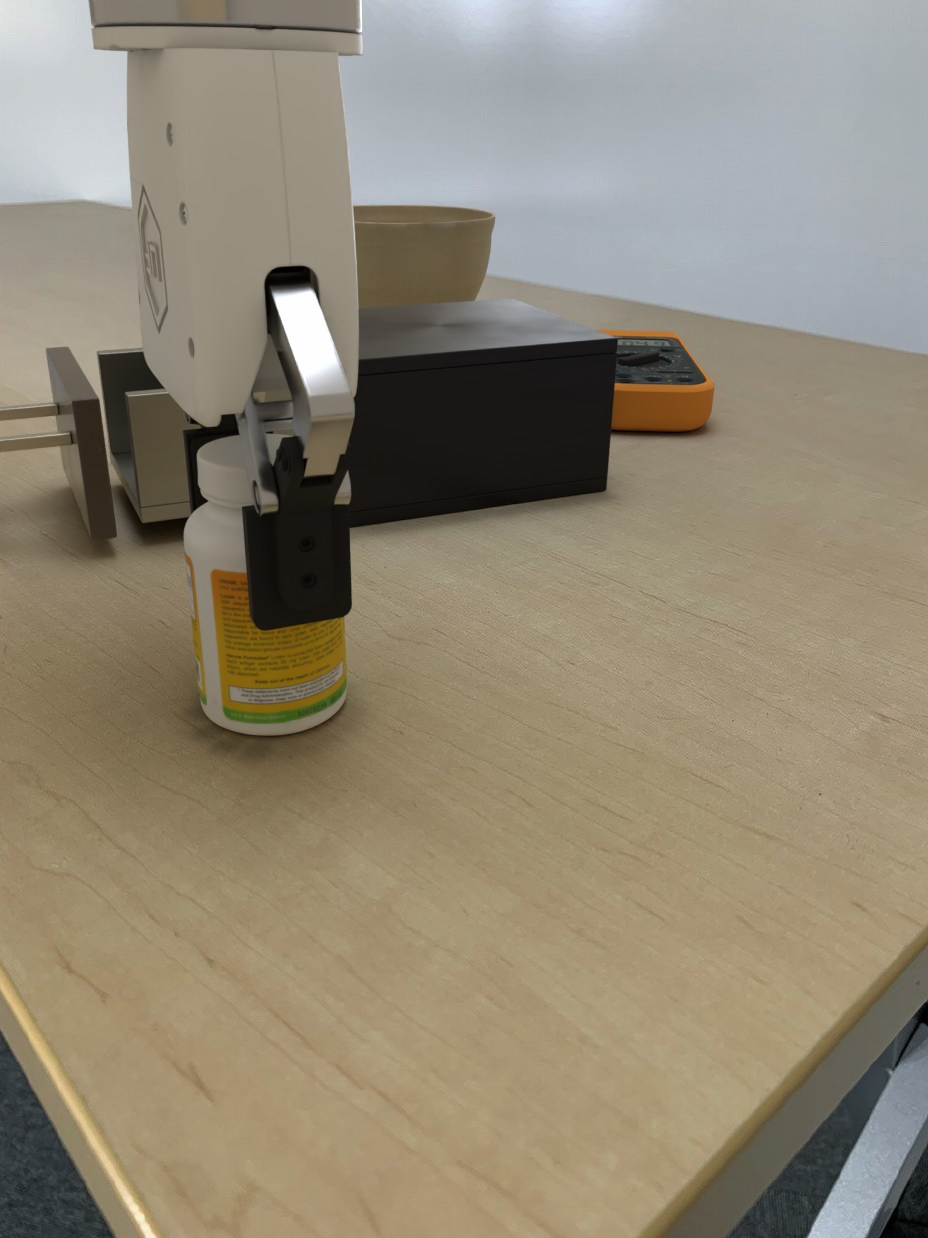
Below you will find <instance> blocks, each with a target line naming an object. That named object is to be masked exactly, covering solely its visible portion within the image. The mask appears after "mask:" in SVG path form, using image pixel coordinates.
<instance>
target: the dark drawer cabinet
mask: <svg viewBox="0 0 928 1238" xmlns="http://www.w3.org/2000/svg"><path fill="white" fill-rule="evenodd" d="M358 314H359V362H358V381H357V390H356V395H355V397H354V404H355V416H354V421H353V425H352V429H351V433H350V437H349V440H348V442H349V443H350V445H351V448H349V449H348V451H349V455H352V461H351V462H350V463H349V465H348V473H349V478H350V484H351V500H350V503H349V523H350V528H351V527H359V526H365V525H371V524H372V525H373V524H379V523H386V522H395V521H400V520H406V519H407V520H408V519H414V518H421V517H422V518H423V517H429V516H434V515H442V514H449V513H455V512H456V513H457V512H462V511H470V510H477V509H482V508H483V509H484V508H492V507H498V506H504V505H512V504H519V503H525V502H533V501H540V500H546V499H547V500H548V499H554V498H560V497H568V496H575V495H582V494H589V493H597V492H603V491H607V488H608V487H607V486H608V477H609V475H608V474H609V464H610V463H609V462H610V451H611V450H610V449H611V438H612V437H611V436H612V429H611V427H612V414H613V401H614V388H615V376H616V363H617V353H616V352H617V346H618V338H616V337H613V336H610V335H608V334H605V333H602V332H600V331H597V330H598V329H594V328H591V327H590V326H587V325H584V324H581V323H579V322H576V321H574V320H570V319H568V318H565V317H563V316H560V315H558V314H555V313H552V312H551V311H550V312H549V311H547V310H544V309H542V308H539V307H536V306H534V305H532V304H528V303H526V302H523V301H520V300H518V299H515V298H512V297H511V298H495V299H482V300H481V299H480V300H475V301H464V302H448V303H433V304H417V305H402V306H386V307H371V308H358Z"/></svg>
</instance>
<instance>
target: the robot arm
mask: <svg viewBox="0 0 928 1238" xmlns="http://www.w3.org/2000/svg"><path fill="white" fill-rule="evenodd" d="M362 4H363V3H362V0H88V8H89V17H90V25H91V26H92V28H90V30H91V37H92V46H93V47H92V48H93V50H98V51H99V50H100V51H108V52H109V51H111V52H127V53H126V126H127V127H126V129H127V130H126V131H127V149H128V151H127V152H128V168H129V183H130V199H131V210H132V226H133V236H134V237H133V239H134V250H135V251H134V252H135V264H136V279H137V288H138V289H137V292H138V303H139V304H138V306H139V307H138V308H139V319H140V320H139V322H140V335H141V343H142V344H141V345H142V346H141V347H142V348H143V352H144V356H145V360H146V362H147V365H148V366H149V368H150V370H151V371H152V372H153V374H154V375H155V376H156V378H157V379H158V380H159V382H160V383H161V384H162V385H163V387H164V388H165V389H166V390H167V392H168V393H169V394H170V395H171V396H172V398H173V399H174V400H175V401H176V402H177V403H178V404H179V406H180V407H181V408H182V409H183V413H184V418H185V422H186V425H187V427H194V426H201V428H199V429H190V430H183V437H184V447H185V458H186V468H187V478H188V488H189V498H190V508H191V515H192V513H193V512H194V511H195V510H196V509H198V508H199V507H200V506H202V505H203V504H205V503H207V502H208V500H207V499H206V498H204V497H203V496H202V494H201V491H200V490H201V489H200V487H199V485H198V466H197V452H198V450H199V449H200V448H201V447H202V446H204V445H205V444H207V443H209V442H211V441H214V440H217V439H221V438H225V437H230V436H236V435H240V440H241V445H242V450H243V455H244V460H245V465H246V470H247V475H248V480H249V485H250V490H251V495H252V500H253V505H250V506H242V518H243V531H244V544H245V557H246V570H247V583H248V596H249V610H250V617H251V619H252V621H253V623H254V624H255V626H256V627H257V628H258V629H260V630H263V631H268V630H274V629H280V628H285V627H291V626H297V625H302V624H308V623H314V622H319V621H325V620H331V619H336V618H341V617H344V618H345V617H346V616H347V615H349V613H350V612H351V610H352V607H353V593H352V591H353V589H352V560H351V558H352V557H351V555H352V554H351V529H350V528H351V527H350V523H349V503H350V500H351V484H350V478H349V473H348V465H349V463H350V462H351V461H352V455H349V451H348V449H349V448H351V445H350V443H349V442H348V440H349V437H350V433H351V429H352V425H353V421H354V416H355V404H354V397H355V395H356V390H357V381H358V362H359V314H358V284H357V262H356V245H355V228H354V214H353V205H354V203H353V202H354V201H353V200H354V199H353V187H352V177H351V176H352V175H351V166H350V165H351V164H350V163H351V161H350V151H349V142H348V130H347V129H348V128H347V121H346V111H345V110H346V109H345V101H344V92H343V84H342V82H343V81H342V75H341V65H340V59H339V58H340V57H353V56H358V57H360V56H363V55H364V47H363V43H364V42H363V35H362V33H363V15H362V14H363V13H362V11H363V9H362V8H363V7H362ZM278 390H290V393H291V397H292V400H281V401H271V402H265V394H266V392H267V391H278ZM288 429H293V430H294V436H292V437H283V438H282V440H281V442H280V446H279V449H277V450H276V458H275V461H274V464H273V465H272V460H271V455H270V450H269V445H268V441H267V436H266V434H273V431H279V430H288Z"/></svg>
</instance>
